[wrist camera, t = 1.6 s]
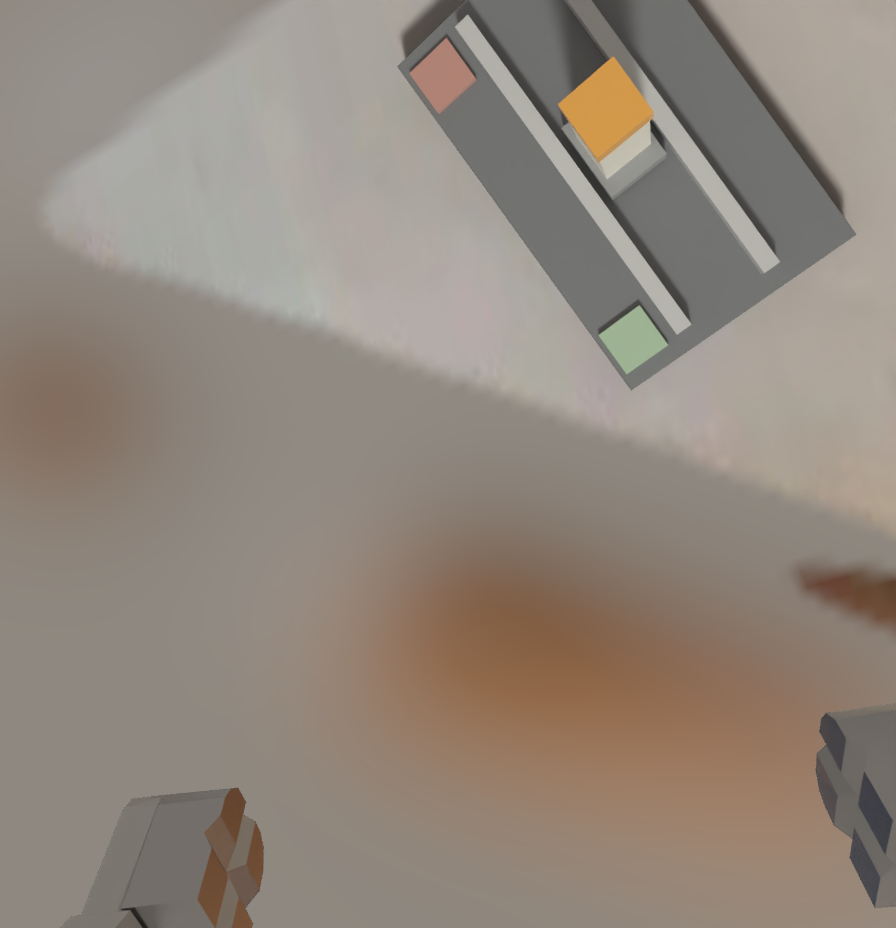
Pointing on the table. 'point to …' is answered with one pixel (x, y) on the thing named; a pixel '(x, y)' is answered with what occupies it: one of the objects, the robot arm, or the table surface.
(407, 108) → the table surface
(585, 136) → the breaker lever
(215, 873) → the robot arm
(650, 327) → the switch panel
